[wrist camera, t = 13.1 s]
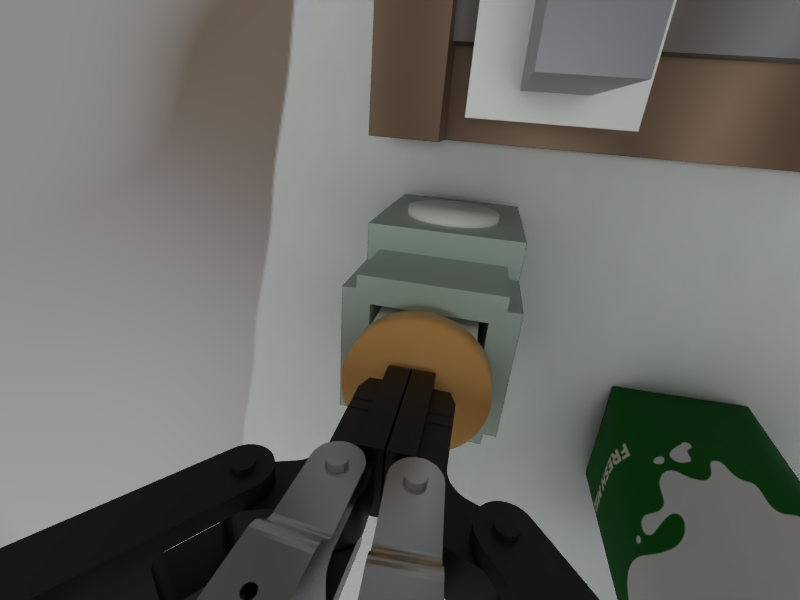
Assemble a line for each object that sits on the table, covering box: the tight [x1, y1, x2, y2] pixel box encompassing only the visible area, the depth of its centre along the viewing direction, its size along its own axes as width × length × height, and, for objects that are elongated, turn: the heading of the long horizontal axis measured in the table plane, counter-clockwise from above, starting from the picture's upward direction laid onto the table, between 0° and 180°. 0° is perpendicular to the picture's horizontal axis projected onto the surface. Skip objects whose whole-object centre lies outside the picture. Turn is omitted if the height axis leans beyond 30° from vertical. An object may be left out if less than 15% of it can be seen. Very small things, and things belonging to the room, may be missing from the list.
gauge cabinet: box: [340, 194, 527, 444], centre depth 19 cm, size 6×8×10 cm
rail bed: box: [369, 0, 800, 172], centre depth 15 cm, size 24×10×4 cm, turn 85°
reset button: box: [341, 306, 492, 449], centre depth 15 cm, size 5×5×4 cm
